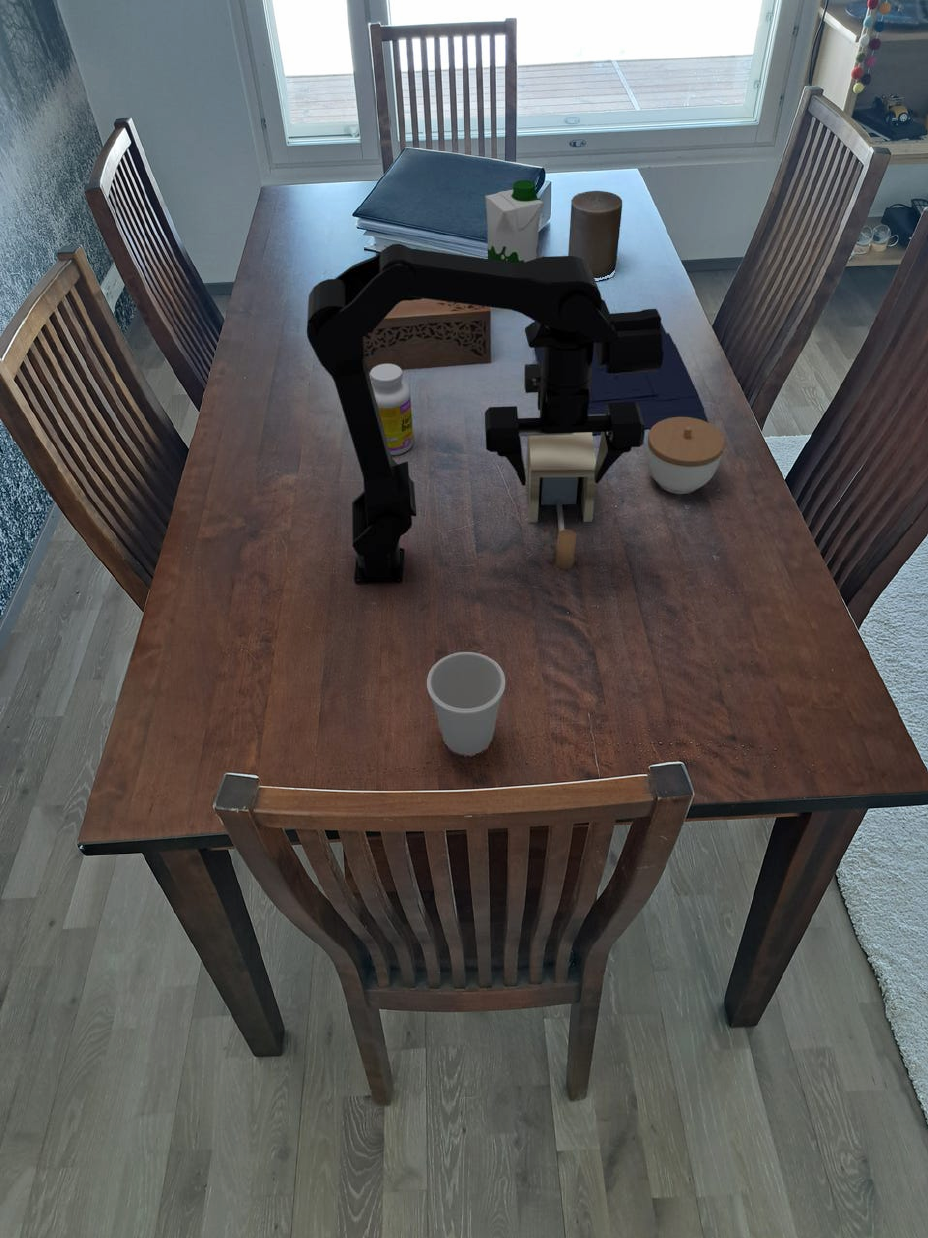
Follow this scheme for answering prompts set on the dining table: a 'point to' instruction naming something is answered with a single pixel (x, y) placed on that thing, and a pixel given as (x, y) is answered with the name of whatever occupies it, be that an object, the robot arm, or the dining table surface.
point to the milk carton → (514, 223)
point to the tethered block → (561, 514)
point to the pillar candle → (595, 230)
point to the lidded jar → (683, 453)
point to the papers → (646, 388)
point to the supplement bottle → (393, 406)
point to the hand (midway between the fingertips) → (559, 482)
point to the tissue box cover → (430, 335)
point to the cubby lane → (561, 467)
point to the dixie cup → (466, 699)
